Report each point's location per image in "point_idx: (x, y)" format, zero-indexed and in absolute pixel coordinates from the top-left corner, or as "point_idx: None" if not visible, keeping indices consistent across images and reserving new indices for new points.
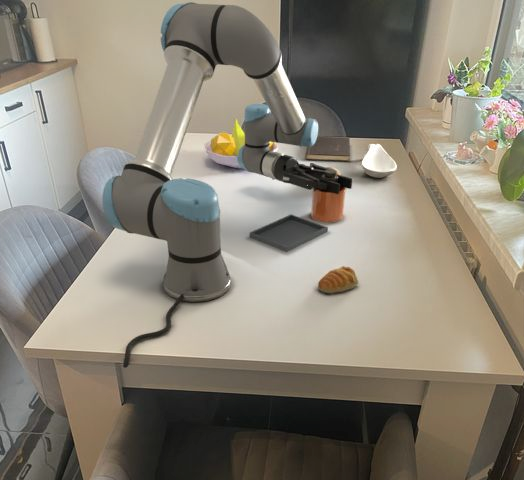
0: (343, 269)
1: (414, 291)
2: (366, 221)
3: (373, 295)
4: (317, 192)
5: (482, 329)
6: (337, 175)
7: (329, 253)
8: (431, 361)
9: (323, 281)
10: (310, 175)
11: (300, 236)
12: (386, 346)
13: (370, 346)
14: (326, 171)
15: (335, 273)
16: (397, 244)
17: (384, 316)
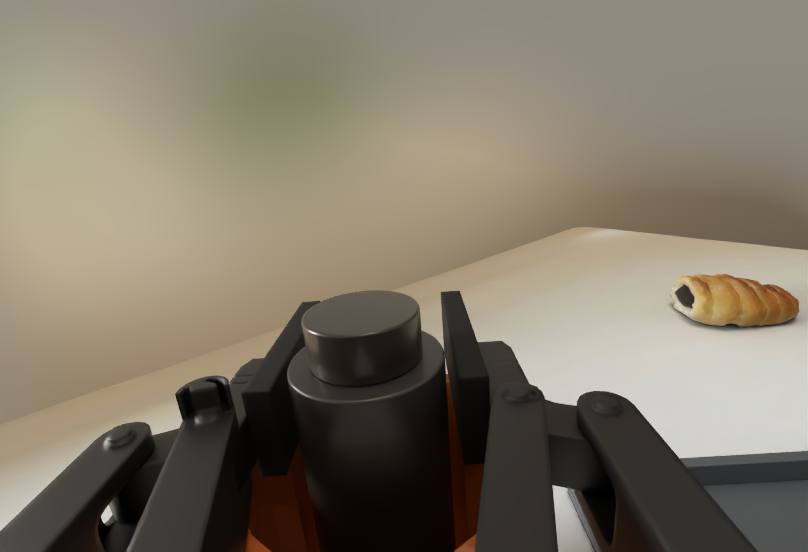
0: (708, 283)
1: (562, 277)
2: None
3: (651, 287)
4: None
5: (548, 242)
6: (289, 355)
7: (664, 393)
8: (658, 238)
9: (784, 293)
10: (483, 507)
11: (776, 535)
12: (707, 250)
13: (735, 253)
14: (394, 316)
15: (742, 281)
16: None
17: (668, 267)
